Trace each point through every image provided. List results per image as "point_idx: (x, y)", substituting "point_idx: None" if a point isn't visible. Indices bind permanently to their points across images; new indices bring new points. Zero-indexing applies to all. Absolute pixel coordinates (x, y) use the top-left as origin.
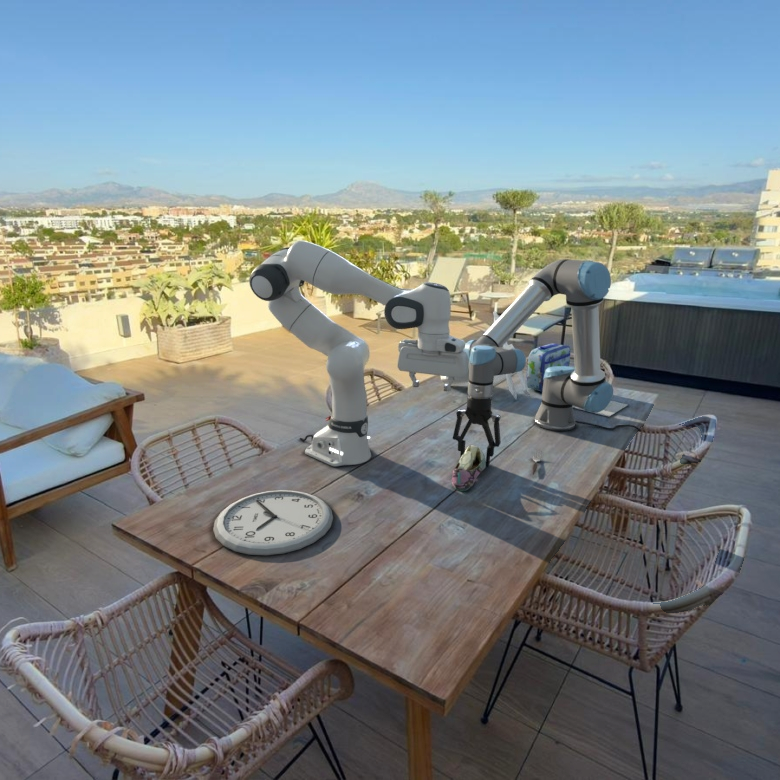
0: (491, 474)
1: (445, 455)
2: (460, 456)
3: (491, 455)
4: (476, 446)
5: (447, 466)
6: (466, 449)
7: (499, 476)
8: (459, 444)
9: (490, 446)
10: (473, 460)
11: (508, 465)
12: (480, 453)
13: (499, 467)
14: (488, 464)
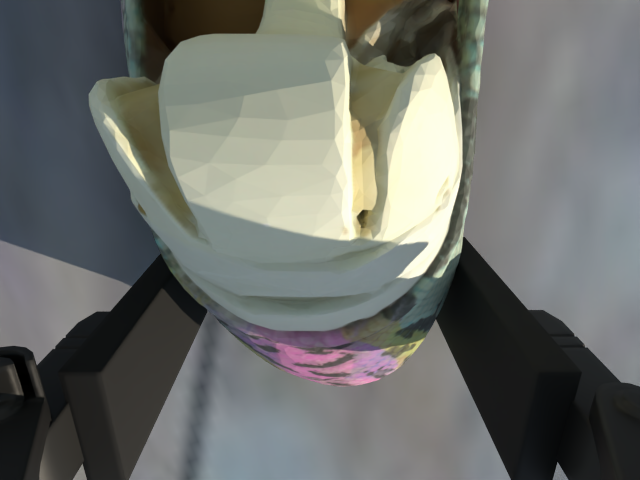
0: None
1: (612, 330)
2: (483, 262)
3: (97, 319)
4: (206, 161)
5: (580, 99)
6: (450, 97)
7: (2, 88)
8: (586, 370)
9: (18, 394)
10: (263, 12)
11: (36, 351)
12: (120, 81)
13: (87, 286)
14: None
